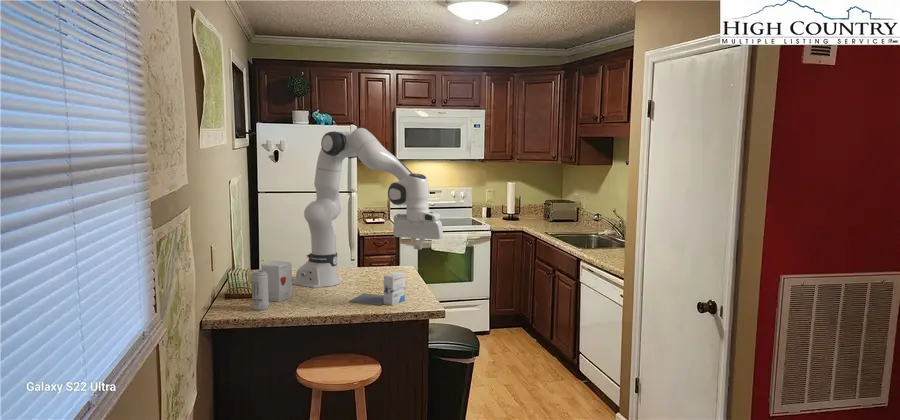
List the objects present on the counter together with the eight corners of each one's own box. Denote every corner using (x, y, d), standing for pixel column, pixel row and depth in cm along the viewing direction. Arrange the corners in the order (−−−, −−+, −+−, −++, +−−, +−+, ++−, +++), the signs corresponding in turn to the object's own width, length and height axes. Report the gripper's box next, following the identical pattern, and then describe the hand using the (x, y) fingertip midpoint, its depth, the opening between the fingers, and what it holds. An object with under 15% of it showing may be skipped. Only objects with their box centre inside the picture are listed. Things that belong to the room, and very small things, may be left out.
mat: (349, 302, 235) (348, 301, 235) (363, 294, 247) (363, 293, 247) (380, 305, 230) (380, 304, 230) (393, 297, 242) (393, 296, 242)
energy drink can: (249, 310, 223) (247, 272, 221) (260, 306, 228) (258, 269, 226) (261, 312, 220) (260, 273, 218) (272, 307, 226) (271, 270, 224)
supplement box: (279, 302, 233) (278, 266, 232) (261, 300, 236) (260, 264, 235) (293, 296, 242) (292, 261, 240) (275, 294, 245) (274, 260, 243)
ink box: (395, 299, 240) (395, 271, 238) (405, 300, 237) (405, 273, 236) (383, 303, 233) (382, 275, 231) (392, 305, 230) (392, 277, 229)
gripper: (390, 214, 228) (390, 248, 230) (438, 216, 221) (438, 252, 223) (396, 212, 234) (397, 246, 235) (444, 214, 227) (444, 249, 229)
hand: (417, 249), depth 229 cm, fingers closed
